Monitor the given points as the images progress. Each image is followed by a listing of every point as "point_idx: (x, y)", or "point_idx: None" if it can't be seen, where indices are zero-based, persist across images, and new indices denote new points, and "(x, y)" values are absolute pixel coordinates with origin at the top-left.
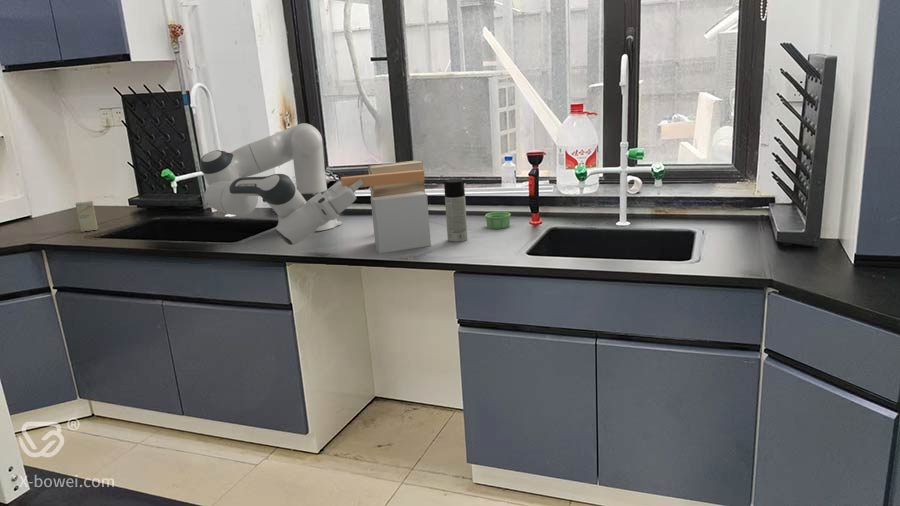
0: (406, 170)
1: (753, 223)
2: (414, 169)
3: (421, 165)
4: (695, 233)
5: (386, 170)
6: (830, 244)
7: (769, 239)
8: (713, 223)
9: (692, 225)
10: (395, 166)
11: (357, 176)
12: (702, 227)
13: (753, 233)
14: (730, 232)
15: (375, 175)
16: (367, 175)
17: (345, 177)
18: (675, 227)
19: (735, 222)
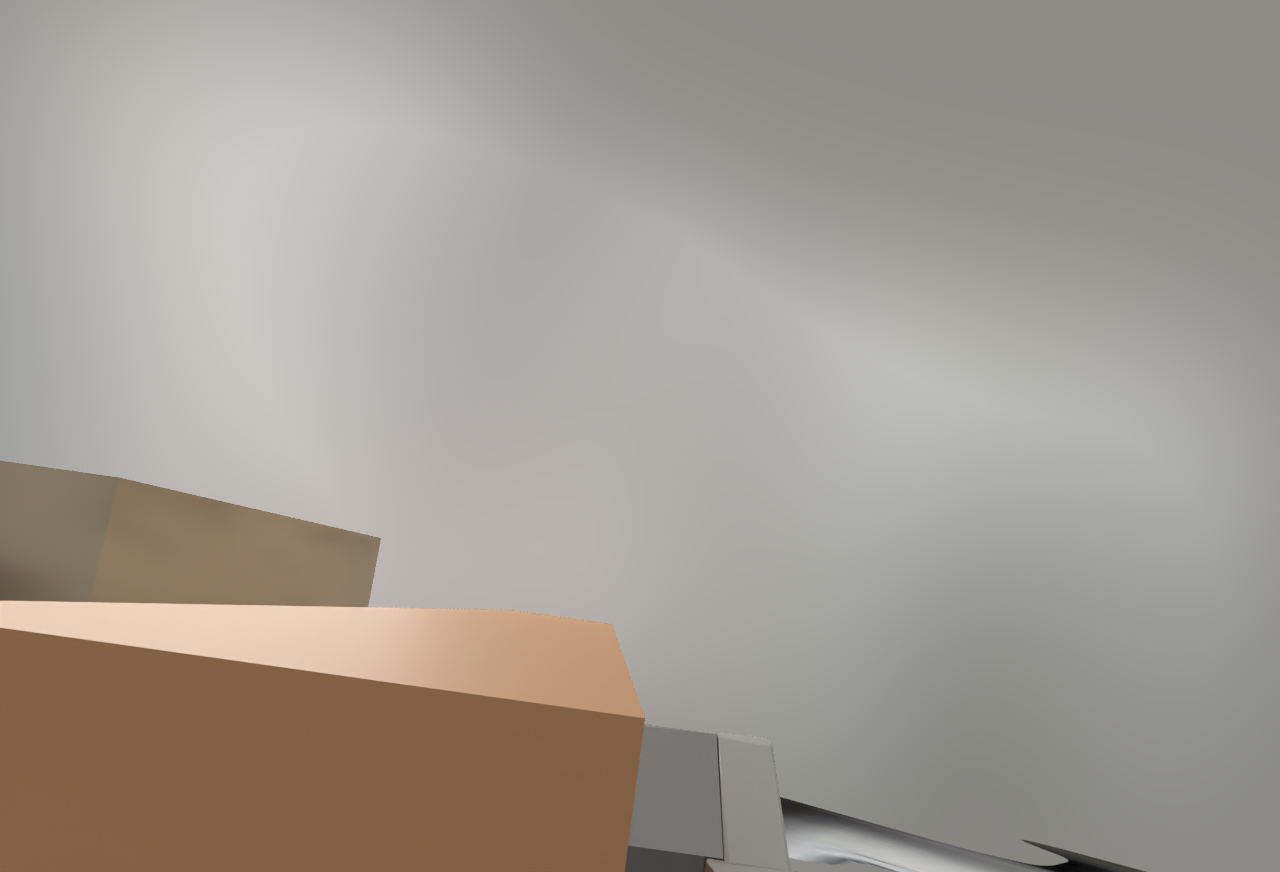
0: (316, 602)
1: (830, 816)
2: (344, 600)
3: (372, 568)
4: (882, 866)
5: (222, 570)
6: (1054, 849)
7: (989, 855)
8: (793, 827)
9: (792, 841)
10: (283, 533)
11: (464, 633)
12: (824, 844)
13: (923, 844)
14: (898, 849)
15: (616, 638)
16: (490, 625)
17: (308, 643)
18: (796, 855)
19: (805, 818)
